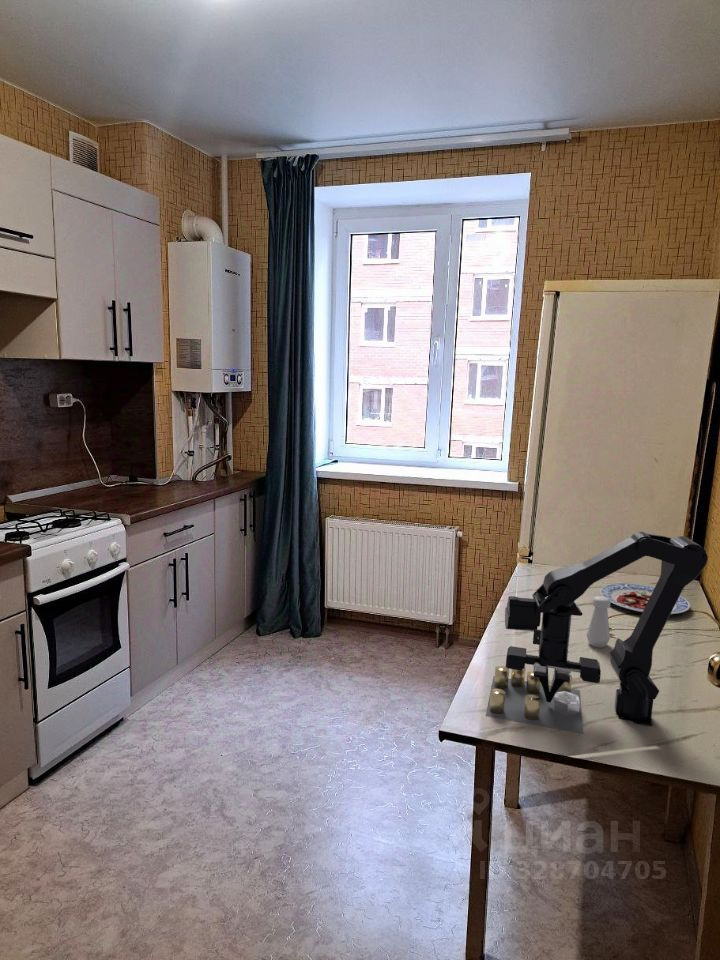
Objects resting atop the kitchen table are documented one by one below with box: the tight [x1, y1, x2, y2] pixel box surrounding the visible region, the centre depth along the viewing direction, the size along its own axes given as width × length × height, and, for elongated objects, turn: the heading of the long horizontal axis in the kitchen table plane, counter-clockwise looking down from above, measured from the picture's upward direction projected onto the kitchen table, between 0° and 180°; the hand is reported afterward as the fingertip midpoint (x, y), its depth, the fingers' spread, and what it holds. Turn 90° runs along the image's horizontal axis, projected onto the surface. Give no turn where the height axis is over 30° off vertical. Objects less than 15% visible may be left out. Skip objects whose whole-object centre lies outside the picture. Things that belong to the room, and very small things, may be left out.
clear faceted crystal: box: [553, 691, 580, 715], centre depth 132 cm, size 6×5×2 cm
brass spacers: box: [489, 665, 573, 720], centre depth 134 cm, size 16×16×4 cm
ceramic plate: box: [599, 583, 691, 615], centre depth 196 cm, size 26×26×3 cm
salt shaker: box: [586, 595, 611, 649], centre depth 164 cm, size 6×6×13 cm
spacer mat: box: [485, 675, 584, 735], centre depth 134 cm, size 19×18×1 cm
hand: (548, 701), depth 133 cm, fingers closed
